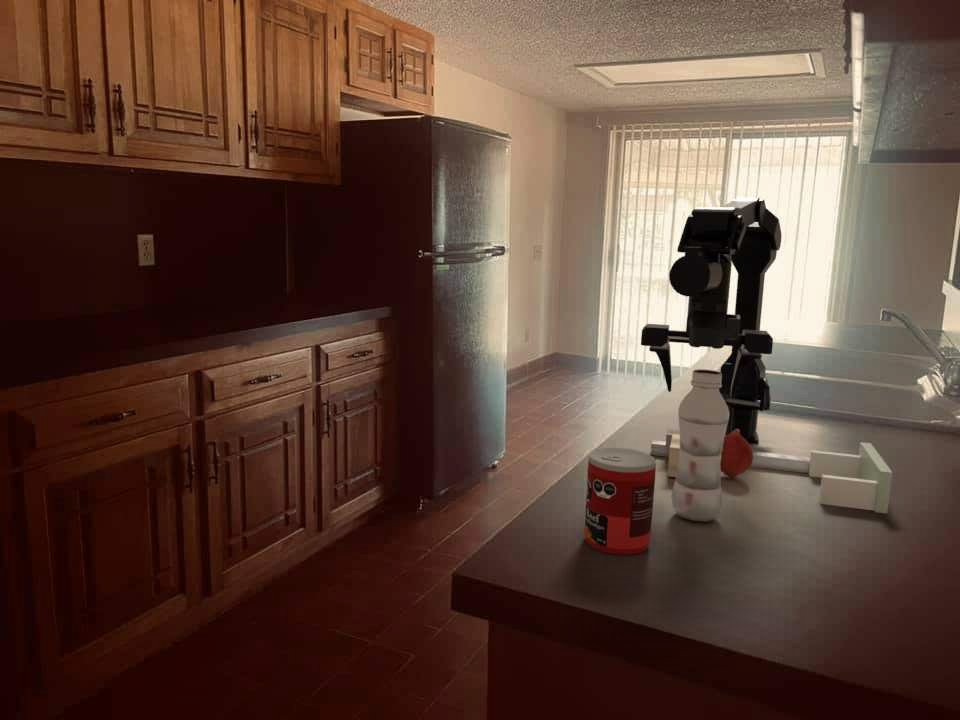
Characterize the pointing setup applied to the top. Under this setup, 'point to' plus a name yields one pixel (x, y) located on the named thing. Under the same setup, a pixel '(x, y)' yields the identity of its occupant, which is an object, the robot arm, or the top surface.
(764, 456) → the rail
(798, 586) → the top surface
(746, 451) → the red round solid
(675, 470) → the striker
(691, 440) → the plastic bottle
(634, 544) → the canned food
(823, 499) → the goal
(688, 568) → the top surface
